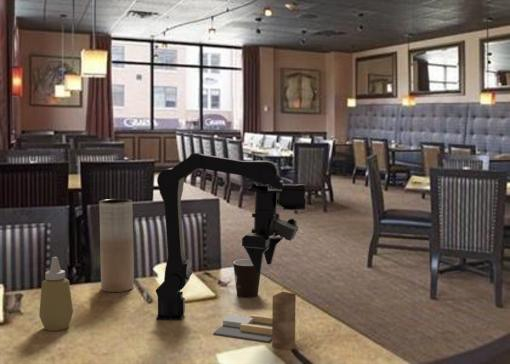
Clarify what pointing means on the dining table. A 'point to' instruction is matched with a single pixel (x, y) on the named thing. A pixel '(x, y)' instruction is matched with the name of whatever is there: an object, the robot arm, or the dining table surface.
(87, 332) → the dining table surface
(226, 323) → the underlay
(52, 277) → the squeeze bottle
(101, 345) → the dining table surface
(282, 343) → the wooden block
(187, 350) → the dining table surface
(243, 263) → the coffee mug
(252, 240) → the robot arm
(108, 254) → the vase
